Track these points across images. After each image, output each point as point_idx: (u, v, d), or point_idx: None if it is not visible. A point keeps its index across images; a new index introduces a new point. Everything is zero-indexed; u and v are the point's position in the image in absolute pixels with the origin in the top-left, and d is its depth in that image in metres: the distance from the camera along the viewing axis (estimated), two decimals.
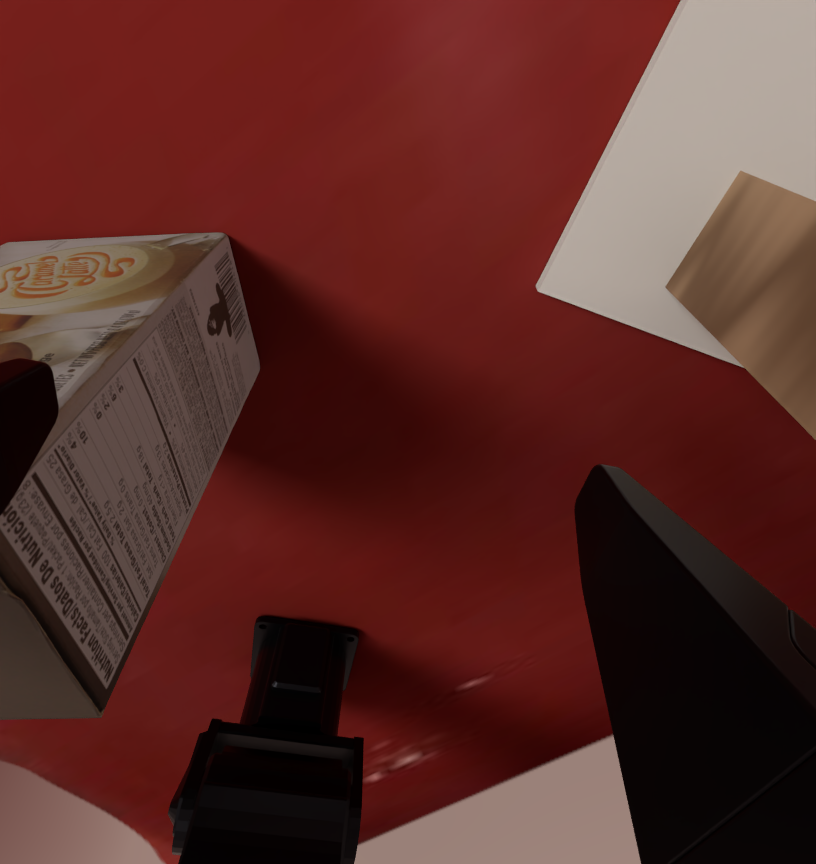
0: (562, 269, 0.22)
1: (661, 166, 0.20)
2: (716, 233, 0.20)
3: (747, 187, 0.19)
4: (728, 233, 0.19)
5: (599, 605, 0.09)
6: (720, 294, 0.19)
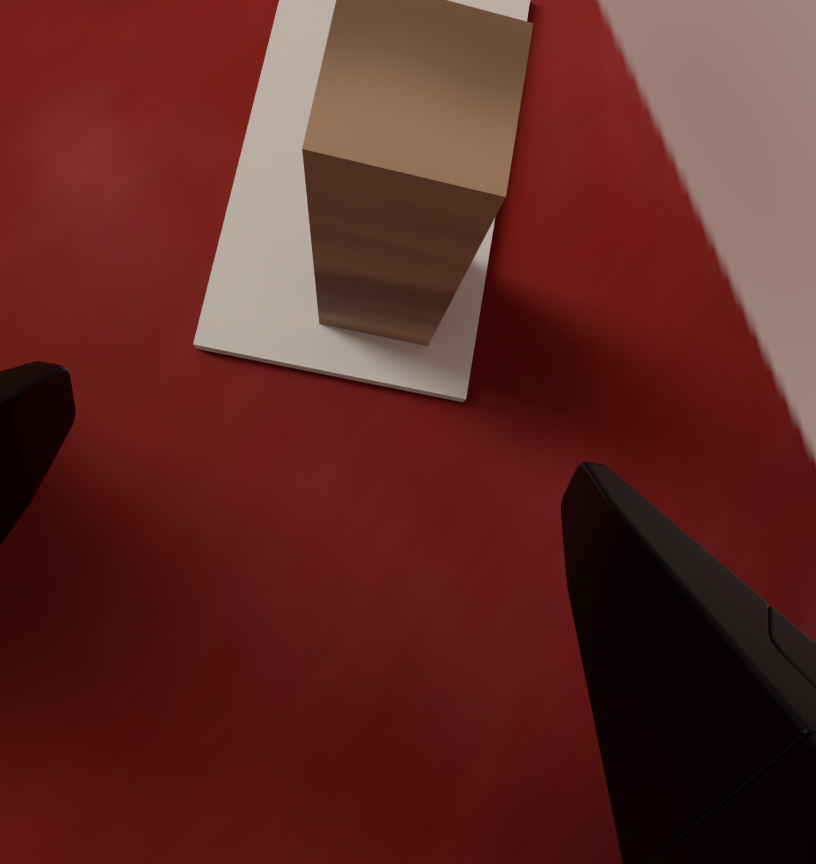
0: (212, 320, 0.22)
1: (272, 226, 0.23)
2: None
3: None
4: None
5: (583, 603, 0.09)
6: None
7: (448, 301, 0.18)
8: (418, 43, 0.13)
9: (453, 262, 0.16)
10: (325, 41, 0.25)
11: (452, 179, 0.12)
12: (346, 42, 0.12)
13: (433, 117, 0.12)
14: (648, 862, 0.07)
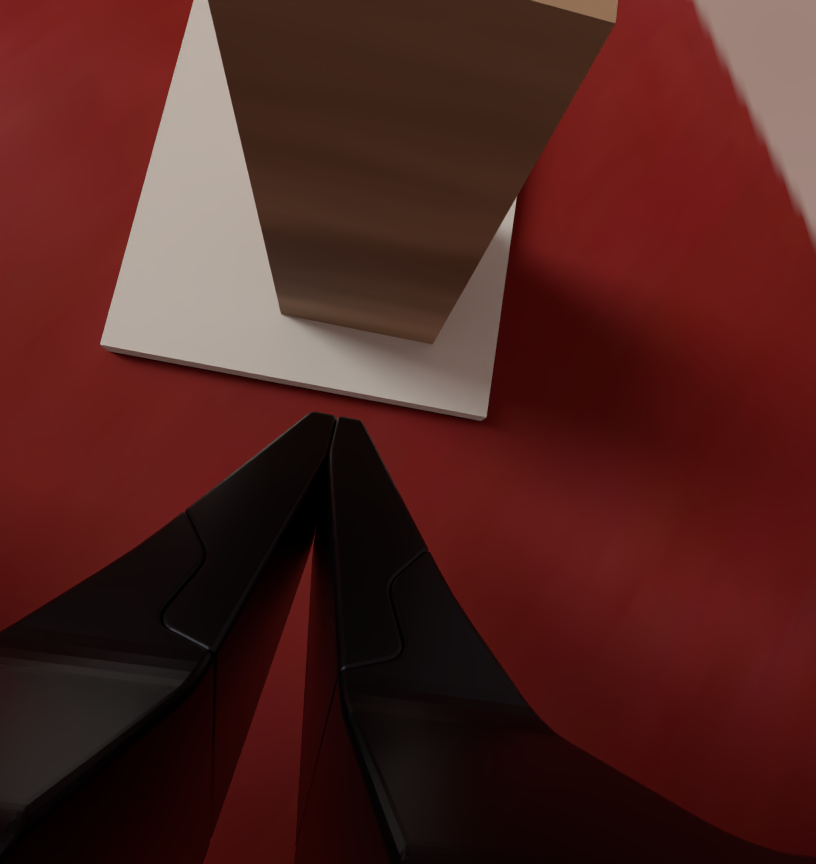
0: (127, 310, 0.16)
1: (215, 180, 0.17)
2: None
3: None
4: None
5: (314, 561, 0.08)
6: None
7: (469, 272, 0.12)
8: None
9: (486, 197, 0.09)
10: None
11: None
12: None
13: None
14: (299, 825, 0.06)
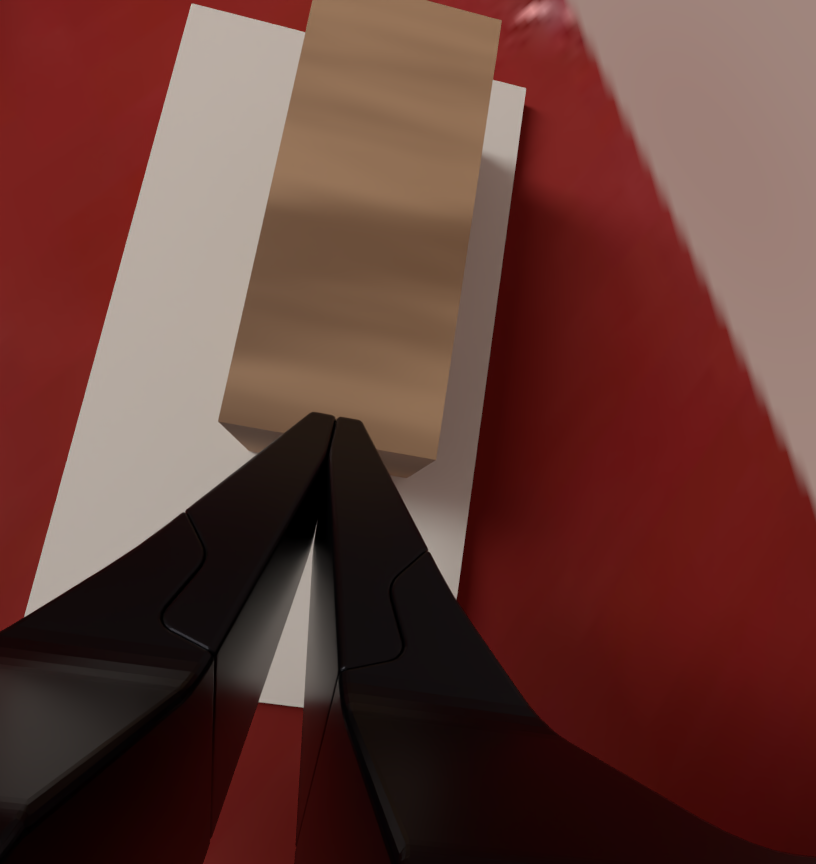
0: None
1: (143, 465, 0.15)
2: None
3: None
4: None
5: (314, 561, 0.08)
6: None
7: (464, 247, 0.13)
8: None
9: (464, 140, 0.13)
10: (229, 174, 0.17)
11: (451, 11, 0.14)
12: None
13: None
14: (299, 825, 0.06)
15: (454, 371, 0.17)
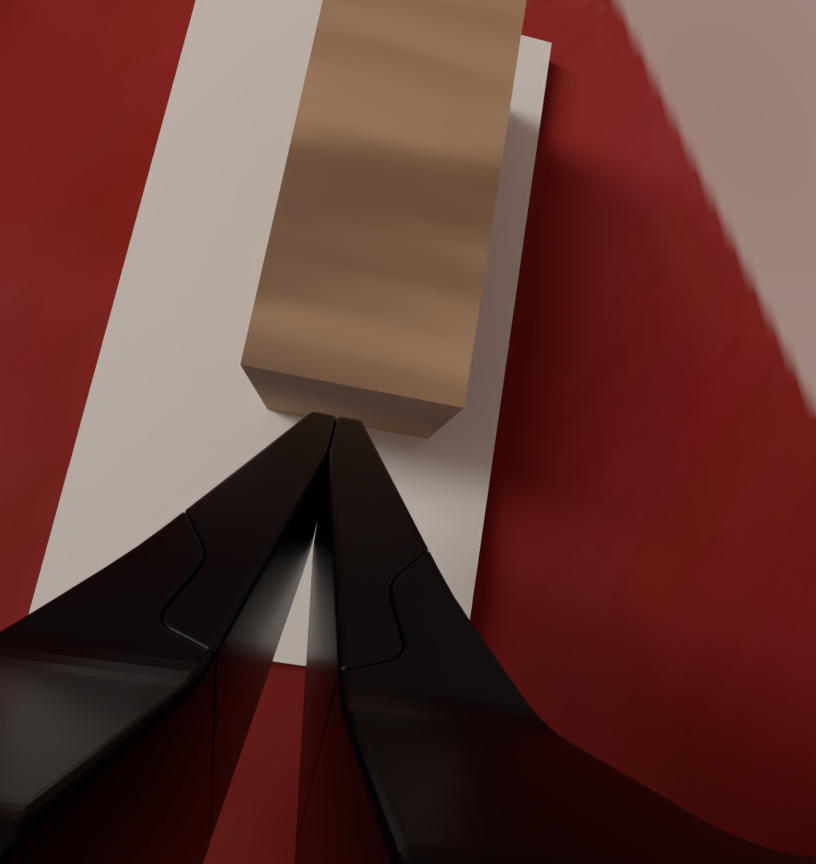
0: (57, 582, 0.14)
1: (160, 421, 0.15)
2: None
3: None
4: None
5: (314, 561, 0.08)
6: None
7: (493, 191, 0.12)
8: None
9: (494, 81, 0.13)
10: (247, 127, 0.17)
11: None
12: None
13: None
14: (299, 825, 0.06)
15: (476, 331, 0.16)
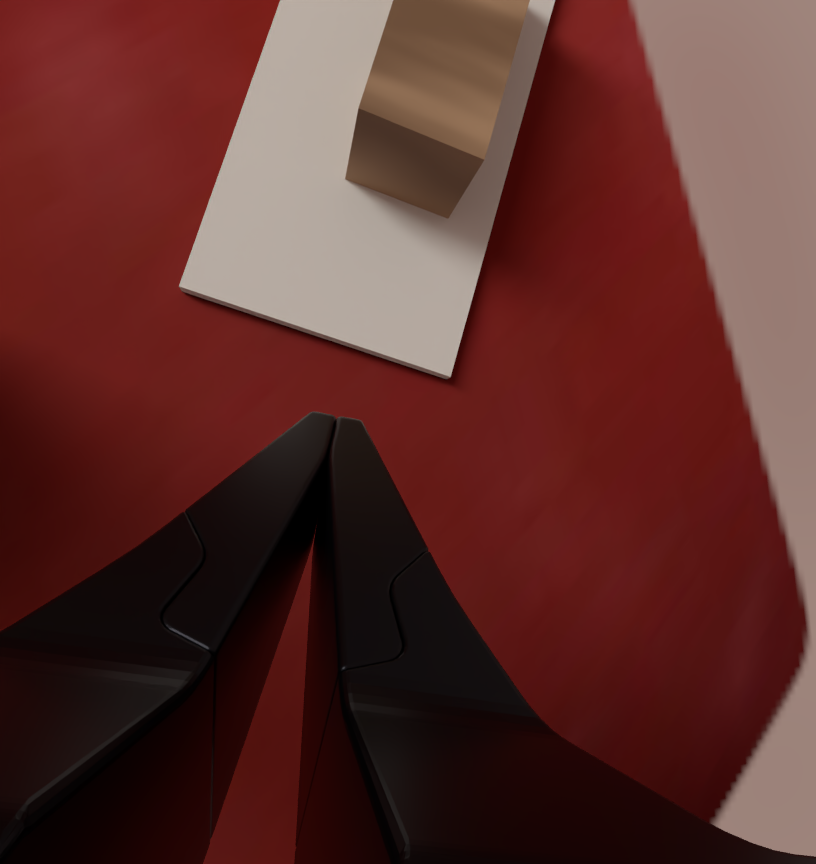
0: (201, 263, 0.21)
1: (274, 173, 0.22)
2: None
3: None
4: None
5: (314, 561, 0.08)
6: None
7: (517, 36, 0.20)
8: None
9: None
10: None
11: None
12: None
13: None
14: (299, 825, 0.06)
15: (488, 154, 0.24)
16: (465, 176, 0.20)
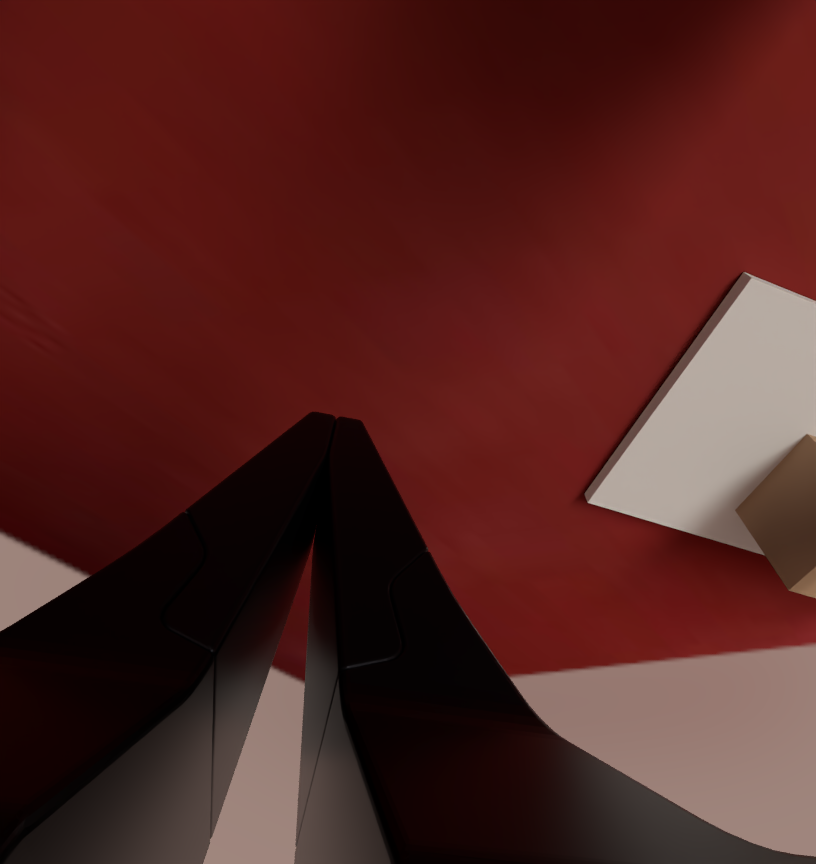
0: (769, 300, 0.20)
1: None
2: None
3: None
4: None
5: (314, 561, 0.08)
6: None
7: None
8: None
9: None
10: None
11: None
12: None
13: None
14: (300, 825, 0.06)
15: None
16: (776, 560, 0.23)
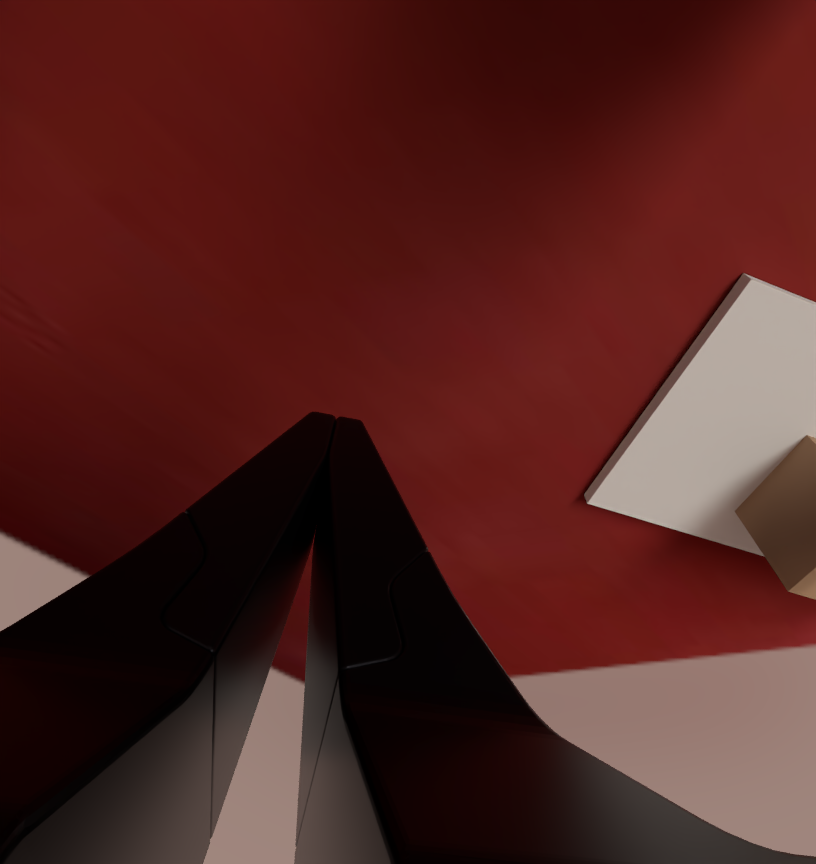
0: (769, 302, 0.20)
1: None
2: None
3: None
4: None
5: (314, 561, 0.08)
6: None
7: None
8: None
9: None
10: None
11: None
12: None
13: None
14: (300, 825, 0.06)
15: None
16: (775, 561, 0.23)
